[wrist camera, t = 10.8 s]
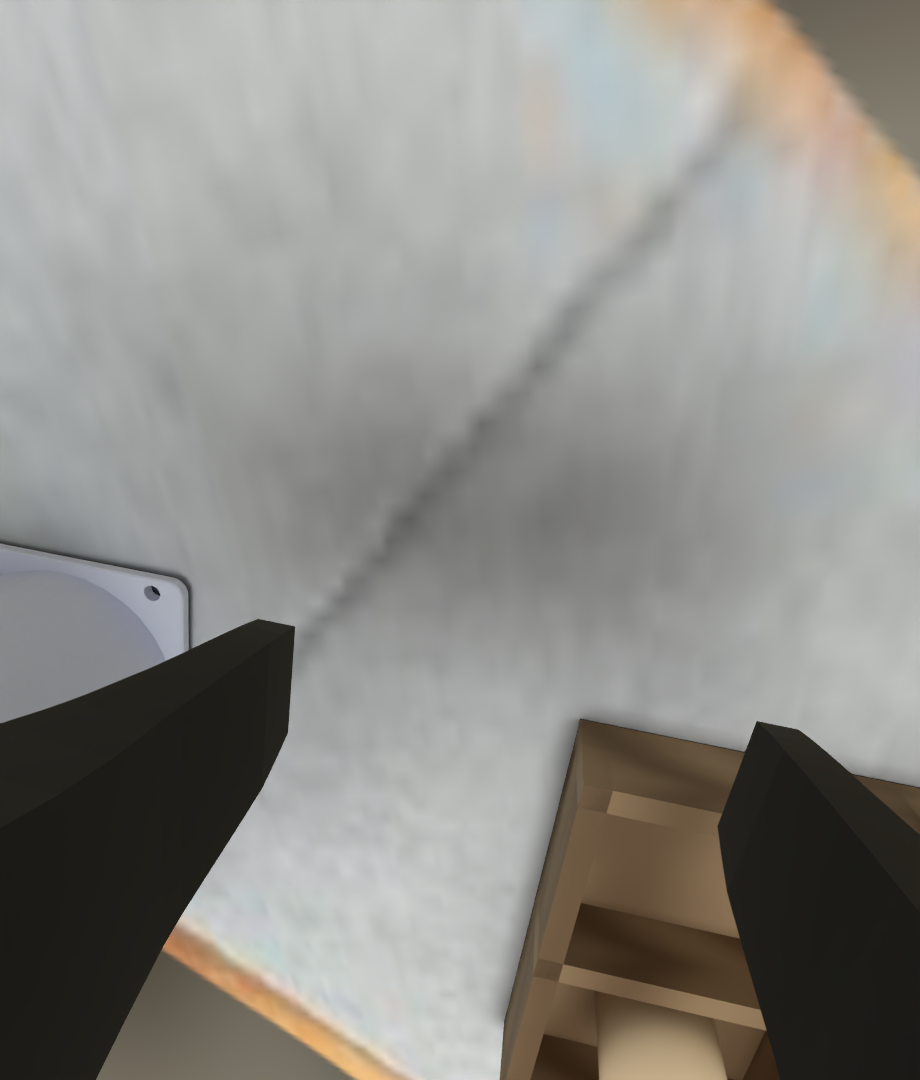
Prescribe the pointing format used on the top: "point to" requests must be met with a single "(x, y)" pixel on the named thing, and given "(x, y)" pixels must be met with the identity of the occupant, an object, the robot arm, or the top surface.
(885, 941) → the robot arm
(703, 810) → the crate
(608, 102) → the top surface
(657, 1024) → the cylinder
